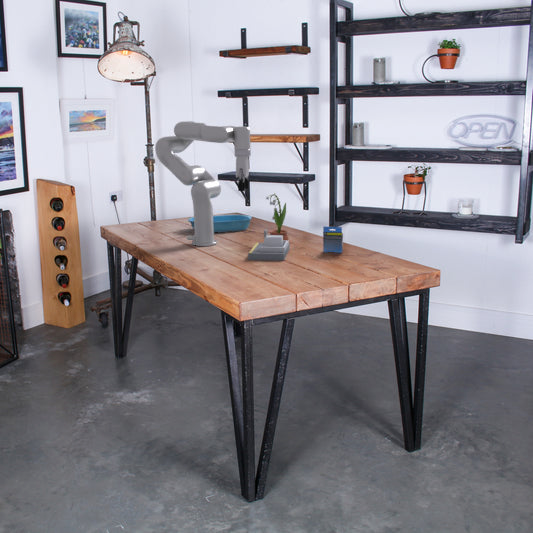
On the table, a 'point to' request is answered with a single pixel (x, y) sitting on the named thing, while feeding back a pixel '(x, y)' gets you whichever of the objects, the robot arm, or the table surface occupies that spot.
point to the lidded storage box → (272, 240)
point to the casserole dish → (228, 222)
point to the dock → (268, 252)
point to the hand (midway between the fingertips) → (243, 189)
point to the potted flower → (278, 219)
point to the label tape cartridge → (332, 239)
